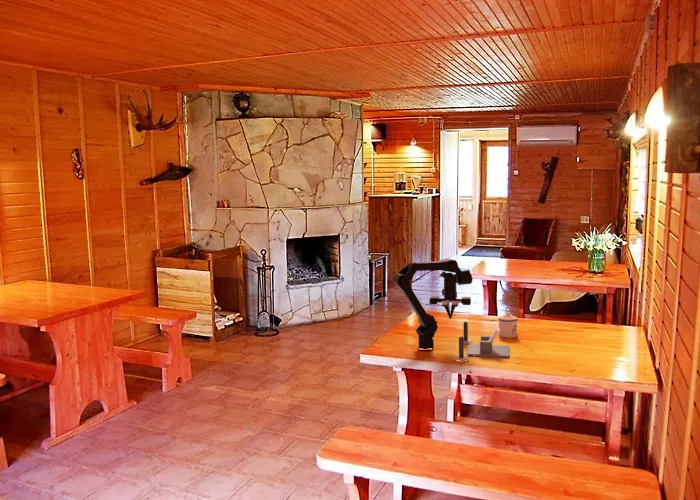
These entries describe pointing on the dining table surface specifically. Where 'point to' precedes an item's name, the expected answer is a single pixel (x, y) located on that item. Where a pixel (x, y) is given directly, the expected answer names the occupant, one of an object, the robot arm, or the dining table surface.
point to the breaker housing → (488, 349)
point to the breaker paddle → (494, 334)
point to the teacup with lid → (508, 325)
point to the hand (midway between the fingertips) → (450, 318)
